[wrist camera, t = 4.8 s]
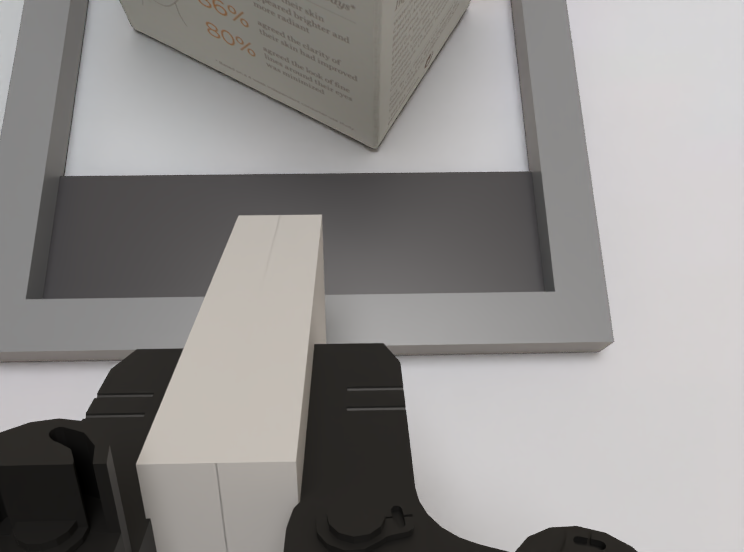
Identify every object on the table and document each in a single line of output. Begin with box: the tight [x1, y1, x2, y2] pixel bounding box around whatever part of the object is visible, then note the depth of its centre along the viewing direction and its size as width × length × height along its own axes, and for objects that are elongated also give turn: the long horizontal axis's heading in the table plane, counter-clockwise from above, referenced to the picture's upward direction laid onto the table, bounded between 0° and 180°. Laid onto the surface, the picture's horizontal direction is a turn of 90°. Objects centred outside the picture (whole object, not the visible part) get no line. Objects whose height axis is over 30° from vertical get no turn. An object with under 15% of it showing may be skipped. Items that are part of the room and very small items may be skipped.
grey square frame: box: [0, 0, 614, 362], centre depth 18 cm, size 14×15×1 cm
